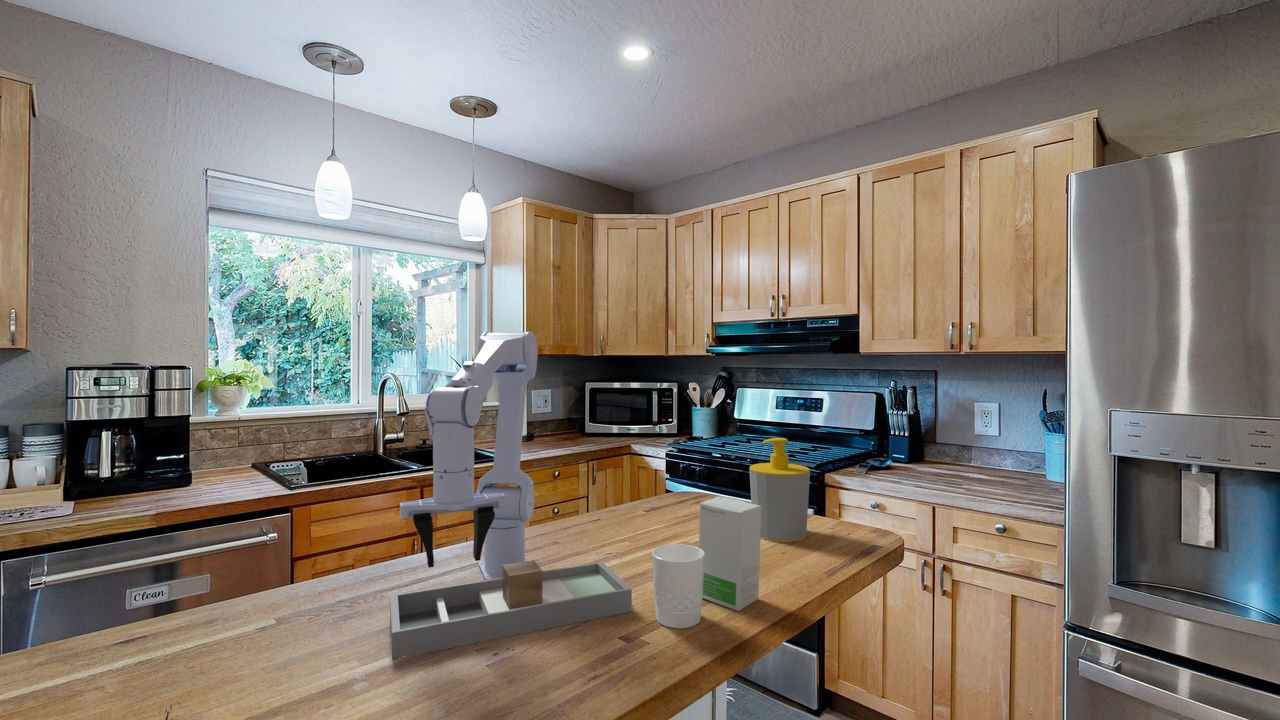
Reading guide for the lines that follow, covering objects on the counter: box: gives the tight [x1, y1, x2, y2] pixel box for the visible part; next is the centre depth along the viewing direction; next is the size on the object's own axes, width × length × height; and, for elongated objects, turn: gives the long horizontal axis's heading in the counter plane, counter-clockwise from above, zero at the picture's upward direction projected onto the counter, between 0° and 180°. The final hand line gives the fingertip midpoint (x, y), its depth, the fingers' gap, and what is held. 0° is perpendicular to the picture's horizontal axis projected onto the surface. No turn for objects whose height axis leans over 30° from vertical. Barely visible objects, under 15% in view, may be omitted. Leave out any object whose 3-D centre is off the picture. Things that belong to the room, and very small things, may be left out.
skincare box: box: [698, 496, 761, 612], centre depth 94 cm, size 8×7×16 cm
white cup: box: [651, 543, 705, 629], centre depth 87 cm, size 8×8×10 cm
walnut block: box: [503, 559, 543, 610], centre depth 89 cm, size 5×5×5 cm
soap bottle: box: [749, 437, 811, 543], centre depth 128 cm, size 13×13×21 cm
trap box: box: [389, 561, 633, 660], centre depth 88 cm, size 13×34×4 cm, turn 114°
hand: (454, 561), depth 84 cm, fingers open, 6 cm apart
